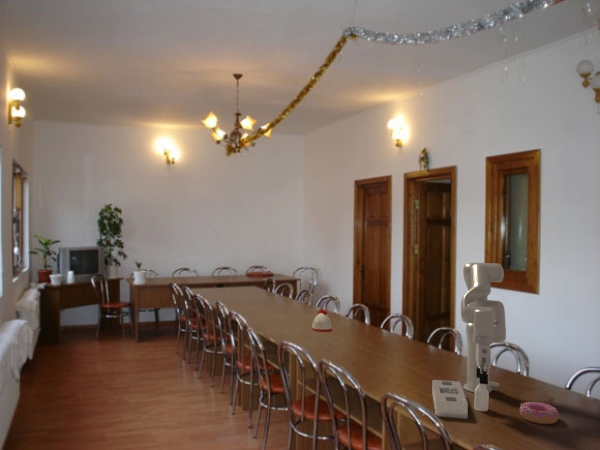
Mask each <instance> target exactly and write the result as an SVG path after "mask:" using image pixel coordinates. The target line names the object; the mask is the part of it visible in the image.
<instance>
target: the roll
mask: <svg viewBox="0 0 600 450" xmlns="http://www.w3.org/2000/svg"><path fill="white" fill-rule="evenodd" d="M489 394H490V392H488V390H487V389H486V385H485V384H479V385H478V386H477V388H476V389H475V392H474V399H473V401H474V403H473V404H474V407H473V408H474V410H475V411H477V412H487V411H488V410H489V398H490V395H489Z"/></svg>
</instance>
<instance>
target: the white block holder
mask: <svg viewBox="0 0 600 450" xmlns="http://www.w3.org/2000/svg"><path fill="white" fill-rule="evenodd" d="M431 382H432V383H431V384H432V385H431V387H432V389H431V390H432V391H431V392H432V401H433V404H434V405H433V407H434V412H435V416H436V415H437V416H436V417H440V418H441V417H443V418H455V419H465V420H467V419H468V414H469V413H468V410H469V409H468V407H469V405H468V404H469V403H468V400H467V398H466V394H465V392H464V388H463V387H462V383H461V381H456V380H455V381H453V380H442V379H441V380H439V379H432V381H431Z"/></svg>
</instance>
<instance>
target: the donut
mask: <svg viewBox="0 0 600 450" xmlns="http://www.w3.org/2000/svg"><path fill="white" fill-rule="evenodd" d="M519 414H520V416H521V417H522V418H523V419H524V420H526V421H528V422H531V423H534V424H538V425H539V424H540V425H552V424H555V423H557V422H558V420H559V416H560V413H559V411H558V409H557V408H556V407H554V406H553V405H550V404H547V403H544V402H541V401H536V402H535V401H528V402H527V401H526V402H523V403H520V407H519Z"/></svg>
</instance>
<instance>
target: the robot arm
mask: <svg viewBox="0 0 600 450" xmlns="http://www.w3.org/2000/svg"><path fill="white" fill-rule="evenodd" d="M462 272H463V273H462V274H463V278H464V283H465V285H466V288H467V291H466V292H465V294H464V295H463V296H462V298H461V302H460V317H461V318H460V319H461V320H462V322H463V323H465V324H466V326H465V333H466V334H465V335H466V342H467V343H466V344H467V345H466V346H467V348H466V349H467V354H466V355H467V360H466V361H467V362H466V363H467V366H466V383H464V384H463V387H462V389H463V390H466V391H468V392H471V393H475V389H476V388H477V386H478V385H479V384H485V385H486V389H487V390H488V392H489V393H491V392H492V391H493V388H500V382H495V381H490V380H489V379H490V378H489V372H490V369H491V368H492V360H491V359H492V358H491V356H492V355H491V353H492V352H491V345H492V344H503V343H504V342H505V341H506V339H507V328H506V327H507V326H506V325H507V324H506V311H505V306H504V303H503V302H502V301H499V300H492V299H488V296H489V295H490V294H491V291H492V288H491V287H492V286H491V283H502V282H503V280H504V276H505V275H504V274H505V271H504V268H503V266H502V264H501V263H497V262H496V263H492V262H491V263H488V262H470V263H467V264H464V267H463V270H462Z"/></svg>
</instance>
